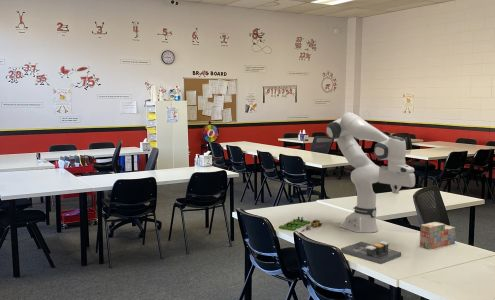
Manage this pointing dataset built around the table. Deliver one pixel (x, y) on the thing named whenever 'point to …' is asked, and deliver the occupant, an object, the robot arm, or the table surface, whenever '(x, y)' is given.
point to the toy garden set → (300, 224)
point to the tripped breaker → (378, 248)
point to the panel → (360, 252)
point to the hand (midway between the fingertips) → (395, 193)
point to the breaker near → (370, 250)
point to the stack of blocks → (436, 235)
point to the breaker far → (384, 245)
